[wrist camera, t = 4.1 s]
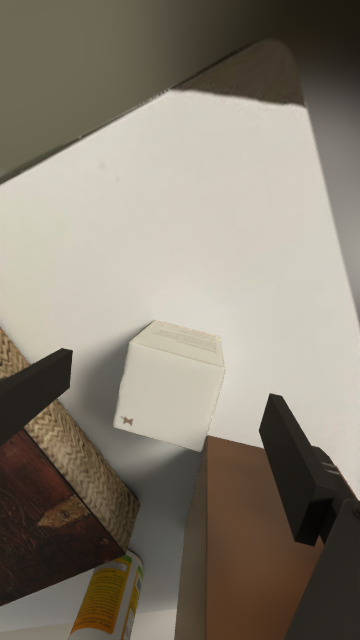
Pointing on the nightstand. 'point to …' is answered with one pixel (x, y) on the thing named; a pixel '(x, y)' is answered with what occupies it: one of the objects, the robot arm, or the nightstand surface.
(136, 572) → the supplement bottle
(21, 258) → the nightstand surface
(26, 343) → the nightstand surface
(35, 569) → the hardback book
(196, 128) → the nightstand surface
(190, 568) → the riser
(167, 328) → the product box
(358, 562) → the robot arm
